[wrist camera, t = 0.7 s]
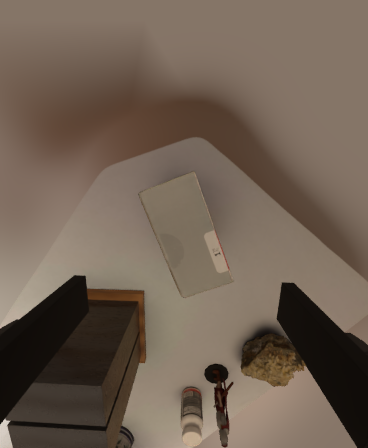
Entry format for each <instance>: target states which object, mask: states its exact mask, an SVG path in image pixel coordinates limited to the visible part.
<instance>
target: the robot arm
mask: <svg viewBox="0 0 368 448" xmlns="http://www.w3.org/2000/svg"><path fill="white" fill-rule="evenodd" d="M88 312H89V305H88V295H87V285H86V276H77V275H74V276H73V277H72V278H71V279H69V280H68V281H67V282H66V283H64V284H63V285H62V286H61V287H59V288H58V289H57V290H56V291H54V292H53V293H52V294H51V295H49V296H48V297H47V298H46V299H44V300H43V301H42V302H41V303H39V304H38V305H37V306H36V307H34V308H33V309H32V310H31V311H29V312H28V313H27V314H26V315H24V316H23V317H22V318H21V319H19V320H15V321H13V322H11V323H9V324H7V325H6V326H4V327H2V328H1V329H0V424H1V423H2V422H3V420H4V419H5V418H6V417H7V415H8V414H9V413H10V412H11V410H12V409H13V408H14V406H15V405H16V404H17V403H18V401H19V400H20V399H21V398H22V396H23V395H24V394H25V392H26V391H27V390H28V389H29V387H30V386H31V385H32V384H33V382H34V381H35V380H36V378H37V377H38V376H39V375H40V373H41V372H42V371H43V370H44V368H45V367H46V366H47V364H48V363H49V362H50V361H51V359H52V358H53V357H54V356H55V354H56V353H57V352H58V350H59V349H60V348H61V347H62V345H63V344H64V343H65V342H66V340H67V339H68V338H69V336H70V335H71V334H72V333H73V331H74V330H75V329H76V328H77V326H78V325H79V324H80V322H81V321H82V320H83V319H84V317H85V316H86V315H87V314H88ZM277 320H278V322H279V323H280V325H281V327H282V328H283V330H284V331H285V333H286V335H287V336H288V338H289V339H290V341H291V342H292V344H293V346H294V347H295V349H296V350H297V352H298V354H299V355H300V357H301V358H302V360H303V362H304V363H305V365H306V366H307V368H308V370H309V371H310V373H311V374H312V376H313V378H314V379H315V381H316V382H317V384H318V386H319V387H320V389H321V390H322V392H323V394H324V395H325V397H326V398H327V400H328V402H329V403H330V405H331V406H332V408H333V410H334V411H335V413H336V414H337V416H338V418H339V419H340V421H341V422H342V424H343V425H344V427H345V429H346V430H347V432H348V433H349V435H350V437H351V438H352V440H353V441H354V443H355V445H356V446H357V448H368V345H367V344H366V343H365V342H364V341H362V340H360V339H359V338H357V337H356V336H354V335H353V334H351V333H344V332H343V331H342V330H341V329H340V328H339V327H338V326H337V325H336V324H335V323H334V322H333V321H332V320H331V319H330V318H329V317H328V316H327V315H326V314H325V313H324V312H323V311H322V310H321V309H320V308H319V307H318V306H317V305H316V304H315V303H314V302H313V301H312V300H311V299H310V298H309V297H308V296H307V295H306V294H305V293H304V292H303V291H302V290H301V289H299V288H298V287H297V286H296V285H295V284H294V283H282V286H281V293H280V300H279V307H278V314H277Z"/></svg>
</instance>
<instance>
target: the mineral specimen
mask: <svg viewBox="0 0 368 448" xmlns="http://www.w3.org/2000/svg"><path fill="white" fill-rule="evenodd" d="M243 350H244V351H245V352H244V353H243V355H242V363H241V372H242V373H243V374H244V375H245V376H251V377H252V378H257V379H259V380H264V381H267V382H268V383H270V384H271V385H272V386H274V387H275V386H286V385H287V384H288V382H289V380H290V379H291V378H294V376H293V372H295V371H296V370H298V371H301V370H303V371H304V366H306V365H305V363H304V362H303V360H302V358H301V357H300V355H299V354H298V352H297V350H296V349H295V347H294V346H293V344H292V343H289V341H288V339H287V338H284V336H277V335H275V334H272V333H271V334H268V335H267V334H266V335H265V336H263V337H262V338H260V337H256V338H255V340H254V341H250V342H247V343H246V346H244V348H243Z"/></svg>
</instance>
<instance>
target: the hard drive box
mask: <svg viewBox="0 0 368 448" xmlns="http://www.w3.org/2000/svg"><path fill="white" fill-rule="evenodd" d="M138 195H139V197H140V200H141V203H142V205H143V207H144V210H145V212H146V215H147V217H148V219H149V222H150V224H151V227H152V229H153V231H154V233H155V236H156V238H157V240H158V243H159V245H160V248H161V250H162V252H163V255H164V257H165V260H166V262H167V264H168V267H169V269H170V272H171V274H172V277H173V279H174V281H175V284H176V286H177V288H178V290H179V292H180V295H181V296H182V297H183V298H186V297H189V296H192V295H195V294H198V293H201V292H204V291H207V290H211V289H214V288H217V287H220V286H223V285H226V284H229V283H232V282H233V278H232V275H231V273H230V270H229V267H228V264H227V261H226V259H225V256H224V253H223V250H222V247H221V245H220V242H219V239H218V237H217V234H216V231H215V229H214V226H213V223H212V220H211V217H210V214H209V211H208V208H207V205H206V203H205V200H204V197H203V194H202V191H201V188H200V186H199V183H198V180H197V177H196V174H195V172H194V171H193V172H190V173H188V174H185V175H183V176H180V177H178V178H175V179H173V180H170V181H167V182H165V183H162V184H160V185H157V186H154V187H152V188H149V189H147V190H144V191H142V192H139V194H138Z"/></svg>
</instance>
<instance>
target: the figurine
mask: <svg viewBox="0 0 368 448" xmlns="http://www.w3.org/2000/svg"><path fill="white" fill-rule="evenodd" d="M204 375H205V377H206V379H207V380H208V381H209V382H211V383H215V384H217V386H216V388H215V387H214V390H215V393H214V394H215V399H214V400H215V405H214V408H215V406H216V410H217V413H216V419H217V426H218V428H219V429H220V430H219V433H220V440H221V443H222V446H223V447H227V442H228V437H227V435H228V434H229V419H228V412H227V395H228V392H227V391H228V390H229V389H230V388H231V386H232V385H233V382H231V384H230V385H229V386H228V388H227V389H226V385H225V380H226V379H227V378H228V371H227V369H226V368H225V367H224V366H222V365H219V364H213V365H210V366H208V367H207V368H206V369H205V374H204ZM222 382H224V389H223V388H222V384H221V383H222ZM224 390H225V391H224ZM225 408H226V416H225V413H224V410H225Z"/></svg>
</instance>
